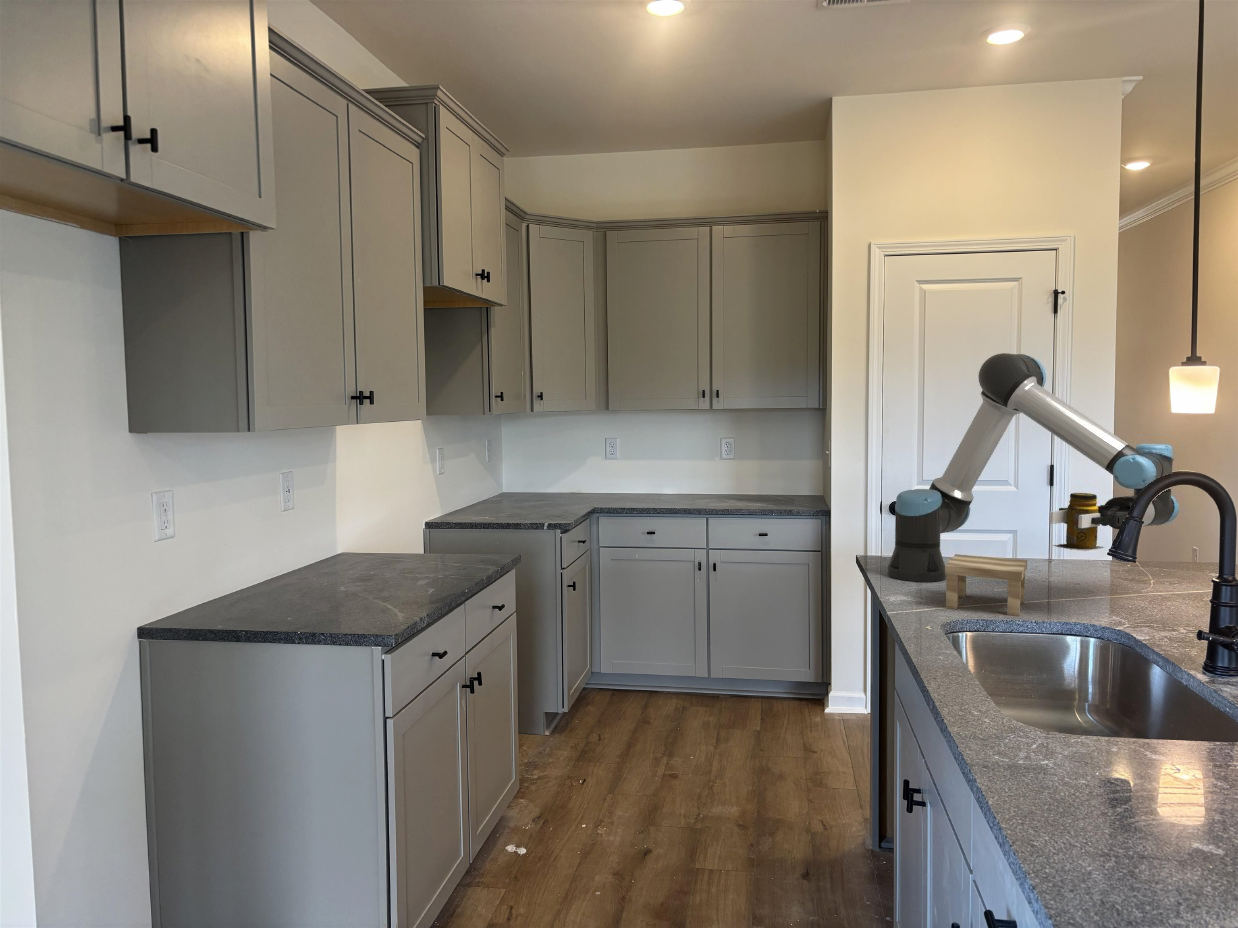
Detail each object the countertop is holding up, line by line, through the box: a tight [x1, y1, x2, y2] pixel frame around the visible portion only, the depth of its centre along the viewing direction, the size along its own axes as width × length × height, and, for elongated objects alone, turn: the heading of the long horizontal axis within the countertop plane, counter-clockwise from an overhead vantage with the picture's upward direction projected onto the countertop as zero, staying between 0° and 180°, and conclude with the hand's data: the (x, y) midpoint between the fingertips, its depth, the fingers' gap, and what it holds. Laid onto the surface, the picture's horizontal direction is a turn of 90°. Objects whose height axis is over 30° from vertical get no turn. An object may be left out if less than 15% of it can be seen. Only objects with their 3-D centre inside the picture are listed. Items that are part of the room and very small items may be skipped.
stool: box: [945, 553, 1028, 617], centre depth 195 cm, size 16×16×10 cm
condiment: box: [1052, 492, 1105, 552], centre depth 184 cm, size 7×8×12 cm
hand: (1065, 519), depth 182 cm, fingers closed on condiment, 6 cm apart
